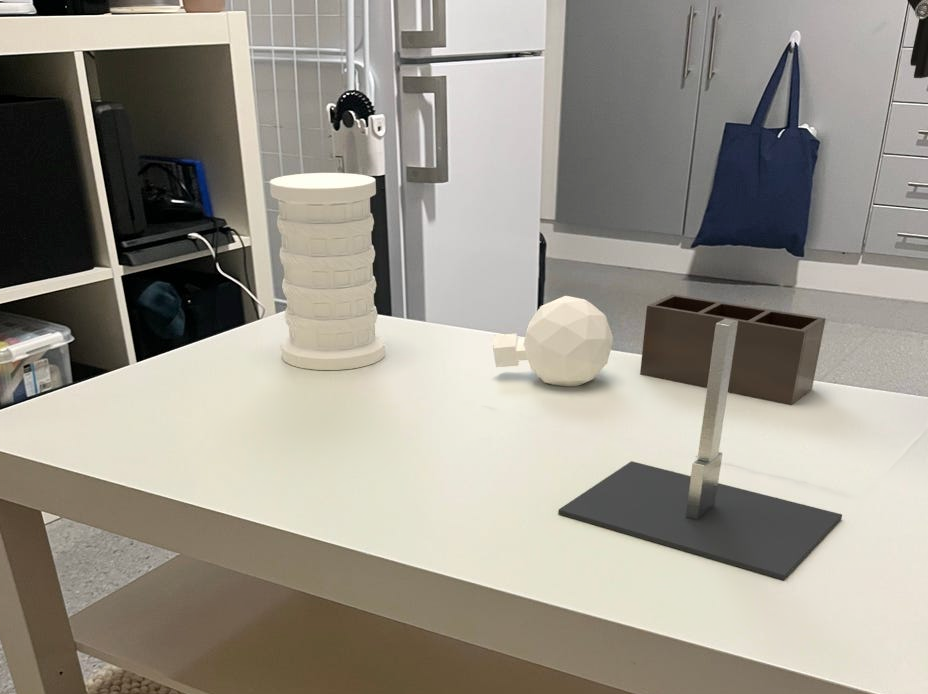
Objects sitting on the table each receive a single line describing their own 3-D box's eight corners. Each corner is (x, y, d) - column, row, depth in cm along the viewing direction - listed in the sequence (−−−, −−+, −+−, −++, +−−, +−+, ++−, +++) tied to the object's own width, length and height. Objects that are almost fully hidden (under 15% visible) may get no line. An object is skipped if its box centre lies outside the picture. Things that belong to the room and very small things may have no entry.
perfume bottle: (615, 352, 108) (504, 362, 110) (611, 274, 101) (492, 285, 103) (615, 403, 102) (497, 411, 104) (610, 323, 95) (485, 334, 98)
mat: (841, 519, 77) (842, 514, 77) (783, 580, 69) (785, 575, 69) (630, 465, 86) (631, 460, 86) (558, 514, 78) (558, 509, 78)
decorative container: (406, 350, 115) (401, 178, 105) (339, 377, 107) (327, 192, 97) (329, 334, 121) (318, 169, 111) (260, 358, 113) (242, 182, 103)
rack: (664, 366, 110) (672, 294, 106) (811, 394, 102) (826, 318, 98) (639, 379, 106) (646, 305, 102) (790, 410, 98) (804, 331, 94)
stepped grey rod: (714, 506, 79) (743, 317, 71) (697, 520, 76) (724, 328, 69) (702, 503, 79) (729, 315, 71) (684, 517, 77) (710, 325, 69)
